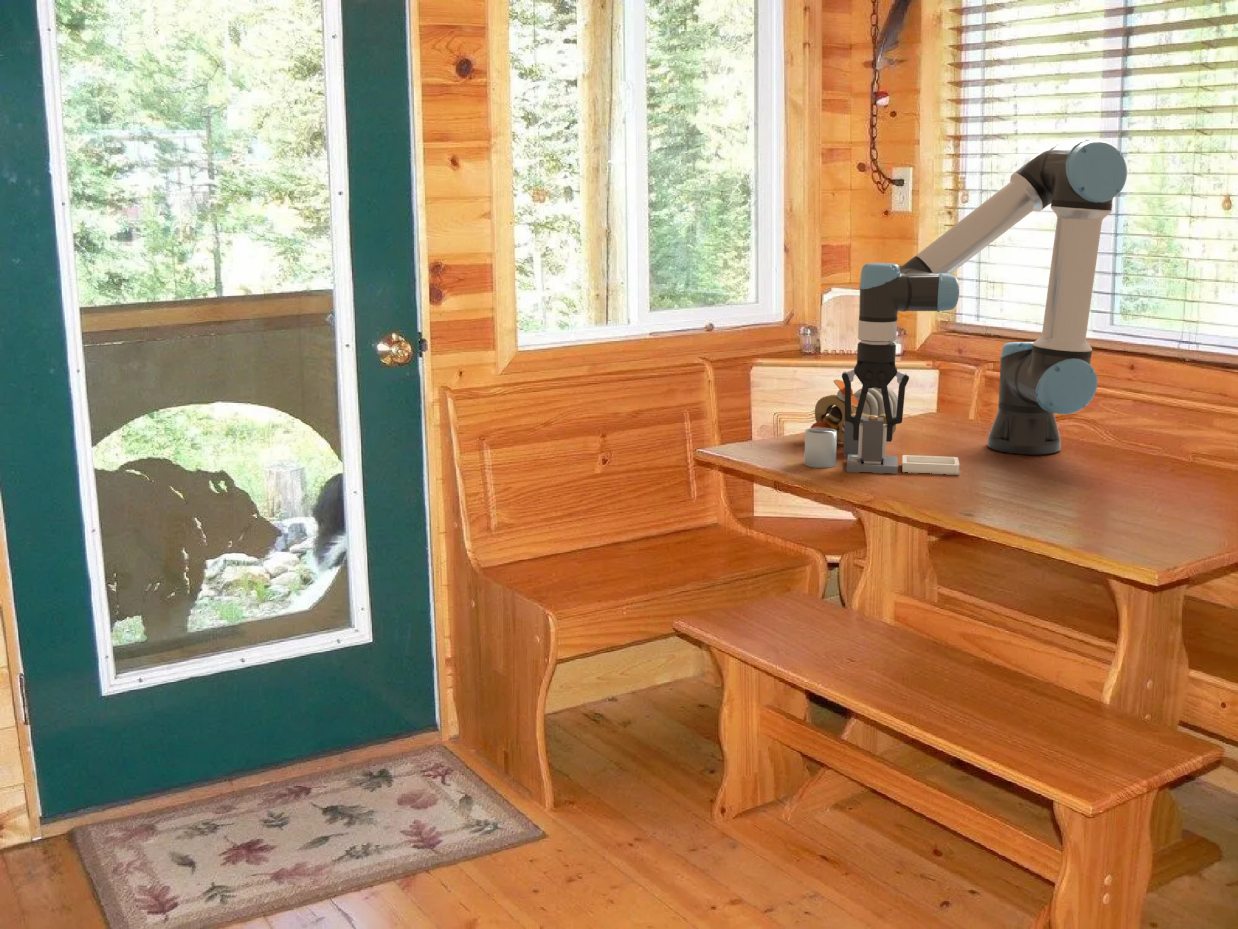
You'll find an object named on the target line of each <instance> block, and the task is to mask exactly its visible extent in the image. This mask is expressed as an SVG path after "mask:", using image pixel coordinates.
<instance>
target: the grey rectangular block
mask: <svg viewBox="0 0 1238 929" xmlns="http://www.w3.org/2000/svg"><path fill="white" fill-rule="evenodd" d="M863 464H870V465H882V464H881V460H864V463H863Z"/></svg>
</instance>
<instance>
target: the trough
mask: <svg viewBox="0 0 1238 929" xmlns="http://www.w3.org/2000/svg"><path fill="white" fill-rule="evenodd" d="M901 457H902V459H901V467H902V468H901V470H902V472H908V473H907V474H918V473H930V474H929V475H943V474H946V476H947V475H948V476H949V475H950V476H960V461H959V457H958V456H957V457H956V456H941V455H940V456H939V455H938V456H937V455H934V456H933V455H913V454H911V455H910V454H909V455H908V454H903V455H901ZM911 472H913V473H911ZM931 473H932V474H931Z"/></svg>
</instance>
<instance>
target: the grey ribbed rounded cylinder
mask: <svg viewBox="0 0 1238 929" xmlns="http://www.w3.org/2000/svg"><path fill="white" fill-rule="evenodd" d="M887 388H888V394H889V400H890V406H891V413H892V417H893V418H894V417H896V413H897V402H898V394H897V393H896V392H895V391H894V390H892V389H891V388H889V387H887ZM861 390H862V387H861V388H860V389H858V390H857V391H855V392H853V395H854V396H855V398H856V399H857V401H858V402H859V398H860V394H861ZM855 408H856V410H857V407H855ZM862 413H864V414H868V415H876V416H879V415H882V414H885V409H884V403H883V397H882V392H881V389H878V388H869V389H868V393H867V396H866V400H865V404H864V408H863V412H862Z"/></svg>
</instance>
